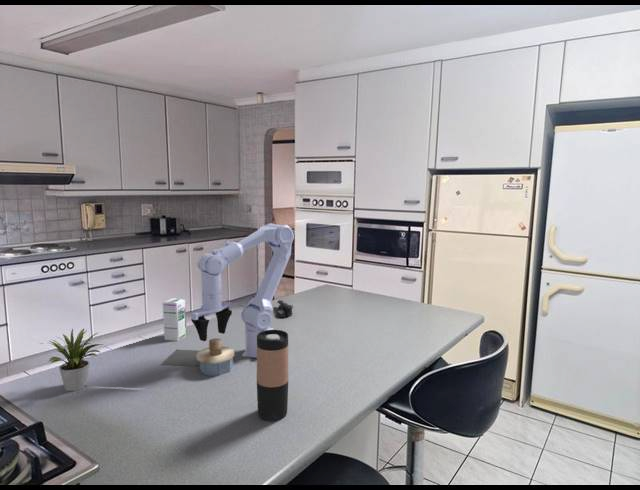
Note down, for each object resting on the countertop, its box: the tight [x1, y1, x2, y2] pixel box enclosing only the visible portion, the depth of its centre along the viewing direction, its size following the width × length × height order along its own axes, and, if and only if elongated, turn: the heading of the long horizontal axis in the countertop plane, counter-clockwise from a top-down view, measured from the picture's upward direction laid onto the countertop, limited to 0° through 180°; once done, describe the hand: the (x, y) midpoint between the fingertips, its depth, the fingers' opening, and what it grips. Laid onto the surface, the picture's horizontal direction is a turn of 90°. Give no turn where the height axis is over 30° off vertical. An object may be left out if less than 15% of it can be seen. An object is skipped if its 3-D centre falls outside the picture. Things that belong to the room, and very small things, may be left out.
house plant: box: [39, 328, 105, 392], centre depth 109 cm, size 14×14×16 cm
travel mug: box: [256, 329, 289, 422], centre depth 99 cm, size 8×8×20 cm
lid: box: [197, 338, 235, 364], centre depth 122 cm, size 11×11×5 cm
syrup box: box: [162, 297, 188, 342], centre depth 147 cm, size 6×6×14 cm
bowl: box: [199, 357, 234, 377], centre depth 123 cm, size 9×9×4 cm
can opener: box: [276, 299, 294, 318], centre depth 182 cm, size 18×7×6 cm, turn 15°
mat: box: [159, 349, 200, 368], centre depth 131 cm, size 12×12×1 cm
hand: (212, 336), depth 125 cm, fingers open, 7 cm apart
